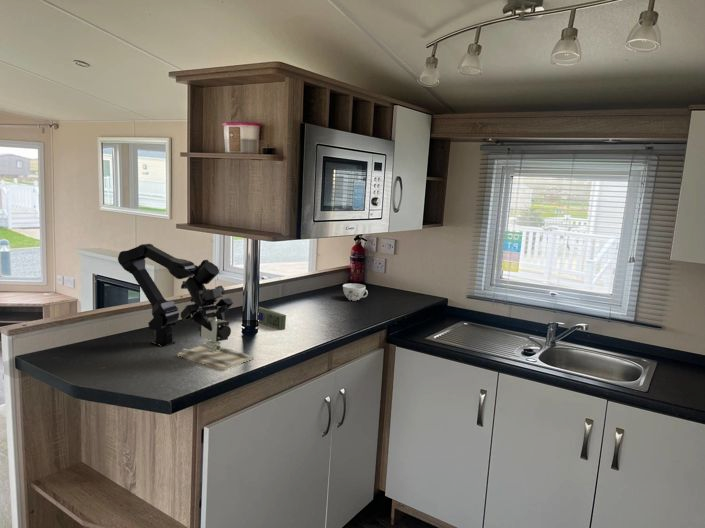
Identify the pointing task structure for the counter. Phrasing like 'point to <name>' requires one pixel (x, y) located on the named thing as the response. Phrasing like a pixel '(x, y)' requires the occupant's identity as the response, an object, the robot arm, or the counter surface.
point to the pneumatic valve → (215, 333)
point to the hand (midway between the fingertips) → (218, 329)
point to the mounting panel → (216, 357)
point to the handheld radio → (272, 318)
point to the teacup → (354, 291)
